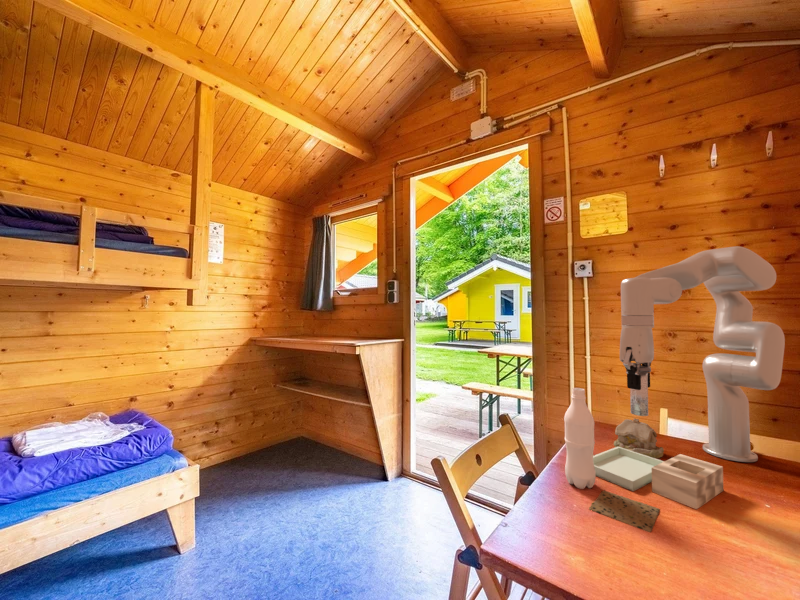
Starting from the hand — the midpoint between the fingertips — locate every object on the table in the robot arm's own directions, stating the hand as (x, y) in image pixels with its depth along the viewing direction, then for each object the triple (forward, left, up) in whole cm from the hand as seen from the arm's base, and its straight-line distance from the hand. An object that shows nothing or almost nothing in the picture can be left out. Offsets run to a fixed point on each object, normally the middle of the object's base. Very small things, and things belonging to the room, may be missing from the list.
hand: (638, 387), depth 96 cm
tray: (0, -4, -24) cm, 25 cm away
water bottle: (+18, -6, -25) cm, 31 cm away
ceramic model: (-19, -10, -25) cm, 33 cm away
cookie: (+20, +6, -25) cm, 33 cm away
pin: (0, 0, -7) cm, 7 cm away
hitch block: (-2, +10, -24) cm, 26 cm away
